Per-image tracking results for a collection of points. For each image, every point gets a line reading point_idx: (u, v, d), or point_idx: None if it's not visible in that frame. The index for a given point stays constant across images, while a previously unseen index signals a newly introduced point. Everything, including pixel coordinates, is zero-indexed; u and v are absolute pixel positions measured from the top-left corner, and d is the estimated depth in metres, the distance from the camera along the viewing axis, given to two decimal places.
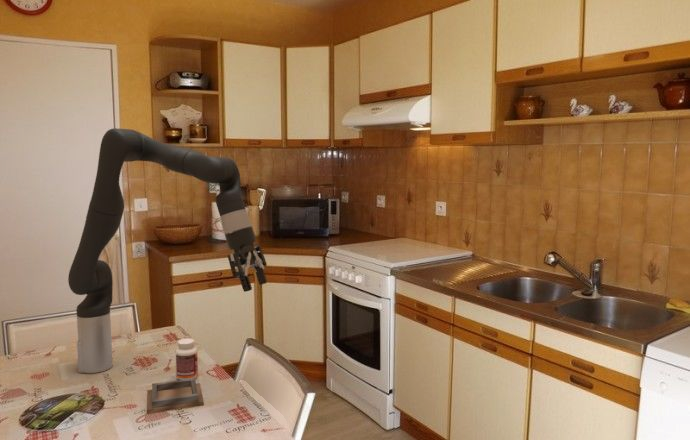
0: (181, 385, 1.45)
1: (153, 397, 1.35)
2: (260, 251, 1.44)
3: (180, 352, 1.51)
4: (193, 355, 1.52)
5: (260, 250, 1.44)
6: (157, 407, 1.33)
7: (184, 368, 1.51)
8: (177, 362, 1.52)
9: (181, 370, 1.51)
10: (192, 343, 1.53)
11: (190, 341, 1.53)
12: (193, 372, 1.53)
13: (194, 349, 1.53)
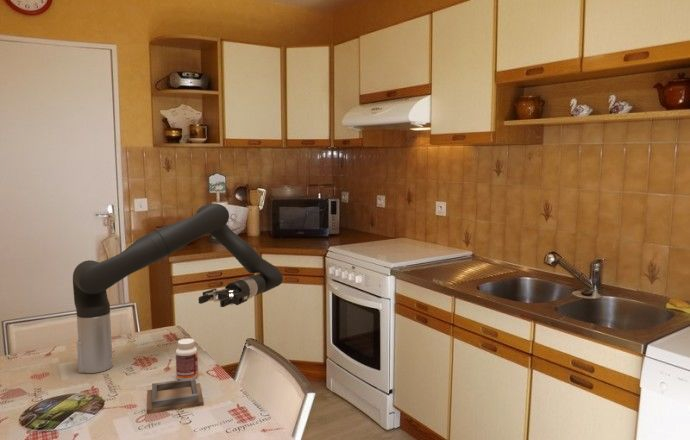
0: (181, 385, 1.45)
1: (153, 397, 1.35)
2: None
3: (180, 352, 1.51)
4: (193, 355, 1.52)
5: None
6: (157, 407, 1.33)
7: (184, 368, 1.51)
8: (177, 362, 1.52)
9: (181, 370, 1.51)
10: (192, 343, 1.53)
11: (190, 341, 1.53)
12: (193, 372, 1.53)
13: (194, 349, 1.53)
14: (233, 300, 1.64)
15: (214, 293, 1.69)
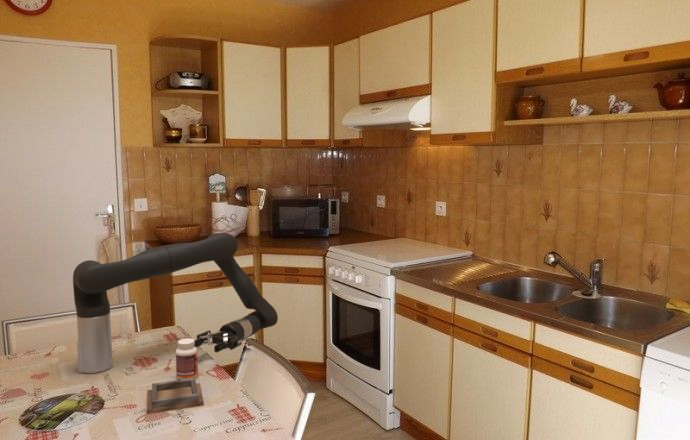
0: (181, 385, 1.45)
1: (153, 397, 1.35)
2: None
3: (180, 352, 1.51)
4: (193, 355, 1.52)
5: None
6: (157, 407, 1.33)
7: (184, 368, 1.51)
8: (177, 362, 1.52)
9: (181, 370, 1.51)
10: (192, 343, 1.53)
11: (190, 341, 1.53)
12: (193, 372, 1.53)
13: (194, 349, 1.53)
14: (227, 345, 1.63)
15: (208, 336, 1.68)
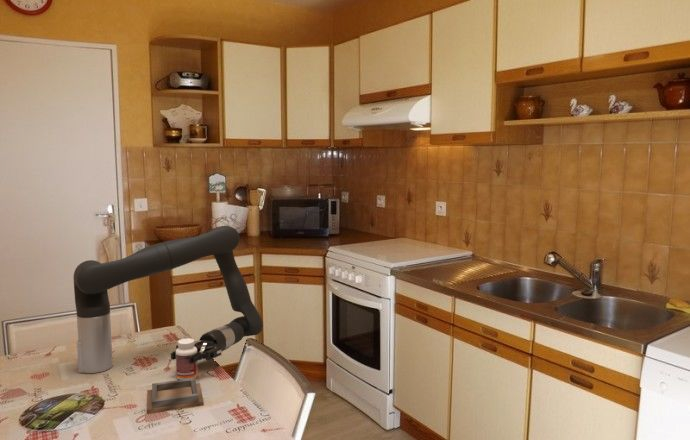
0: (181, 385, 1.45)
1: (153, 397, 1.35)
2: None
3: (180, 352, 1.51)
4: None
5: None
6: (157, 407, 1.33)
7: (184, 367, 1.51)
8: (177, 362, 1.52)
9: (181, 370, 1.51)
10: (192, 343, 1.53)
11: (190, 341, 1.53)
12: (193, 372, 1.53)
13: (194, 349, 1.53)
14: (203, 355, 1.53)
15: None
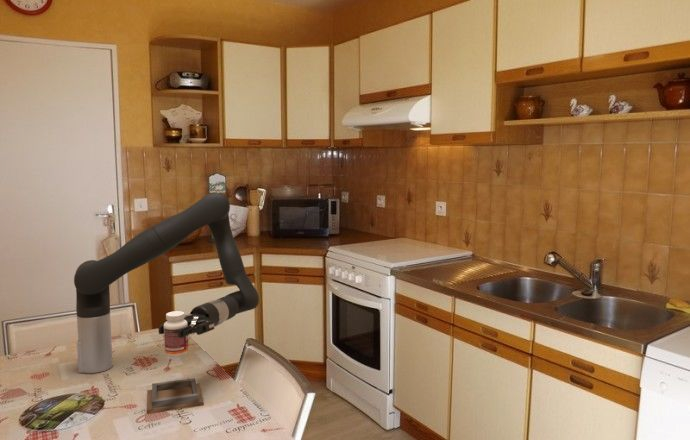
0: (181, 385, 1.45)
1: (153, 397, 1.35)
2: None
3: (168, 325, 1.37)
4: None
5: None
6: (157, 407, 1.33)
7: (173, 342, 1.37)
8: (165, 336, 1.38)
9: (170, 345, 1.38)
10: (182, 315, 1.39)
11: (179, 313, 1.39)
12: (183, 347, 1.39)
13: (184, 322, 1.39)
14: (194, 329, 1.40)
15: None
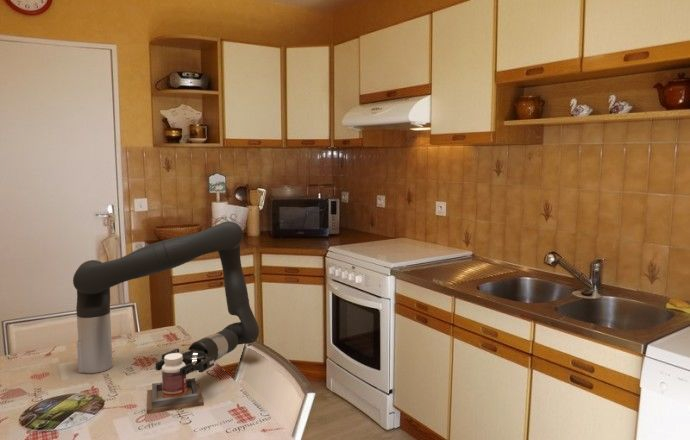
0: None
1: (153, 397, 1.35)
2: None
3: (166, 368, 1.37)
4: None
5: None
6: (157, 407, 1.33)
7: (171, 386, 1.37)
8: (163, 380, 1.38)
9: (168, 389, 1.37)
10: (180, 358, 1.38)
11: (178, 356, 1.39)
12: (181, 390, 1.38)
13: (182, 365, 1.39)
14: (196, 367, 1.39)
15: None
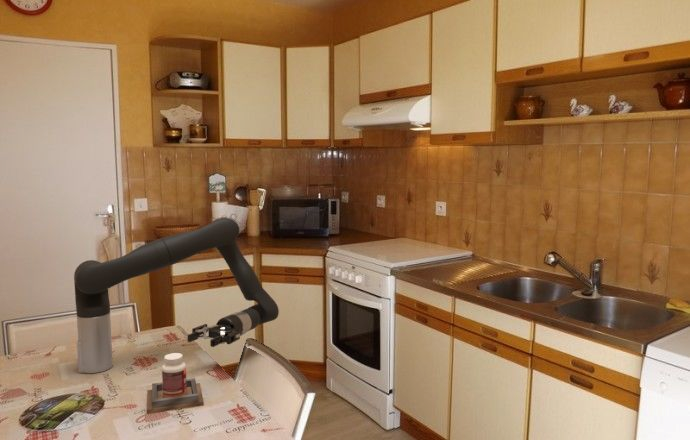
0: None
1: (153, 397, 1.35)
2: None
3: (167, 368, 1.37)
4: (181, 371, 1.38)
5: None
6: (157, 407, 1.33)
7: (171, 386, 1.37)
8: (163, 379, 1.38)
9: (168, 389, 1.37)
10: (180, 358, 1.38)
11: (178, 356, 1.39)
12: (181, 390, 1.38)
13: (182, 365, 1.39)
14: (224, 339, 1.53)
15: (204, 330, 1.58)
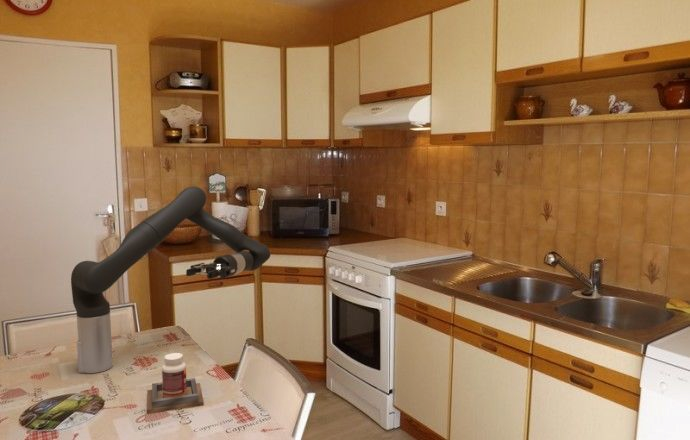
0: None
1: (153, 397, 1.35)
2: None
3: (167, 368, 1.37)
4: (181, 371, 1.38)
5: None
6: (157, 407, 1.33)
7: (171, 386, 1.37)
8: (163, 379, 1.38)
9: (168, 389, 1.37)
10: (180, 358, 1.38)
11: (178, 356, 1.39)
12: (181, 390, 1.38)
13: (182, 365, 1.39)
14: (220, 272, 1.66)
15: (202, 266, 1.71)
